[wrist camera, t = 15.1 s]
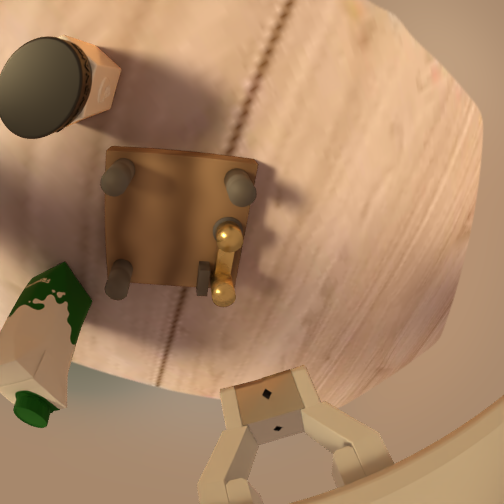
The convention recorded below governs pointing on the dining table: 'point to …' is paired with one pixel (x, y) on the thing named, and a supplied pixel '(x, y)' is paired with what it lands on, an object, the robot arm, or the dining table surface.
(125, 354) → the dining table surface
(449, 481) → the robot arm
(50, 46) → the jar
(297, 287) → the dining table surface
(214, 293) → the gold bone
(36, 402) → the milk carton
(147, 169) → the stool seat
